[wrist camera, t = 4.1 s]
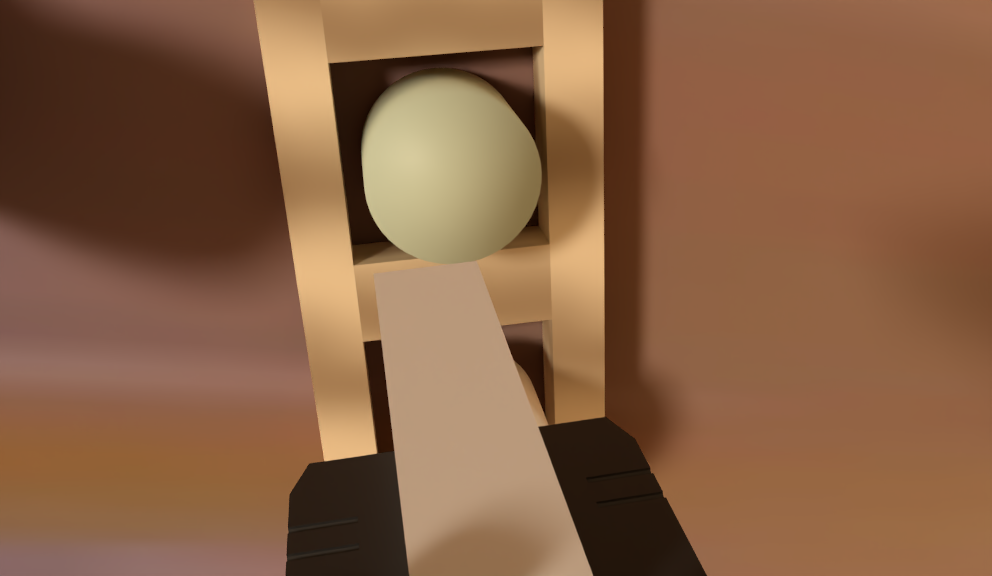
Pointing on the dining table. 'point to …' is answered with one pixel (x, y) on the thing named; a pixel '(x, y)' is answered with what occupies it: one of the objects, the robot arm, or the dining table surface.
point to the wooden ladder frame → (350, 268)
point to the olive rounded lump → (448, 167)
